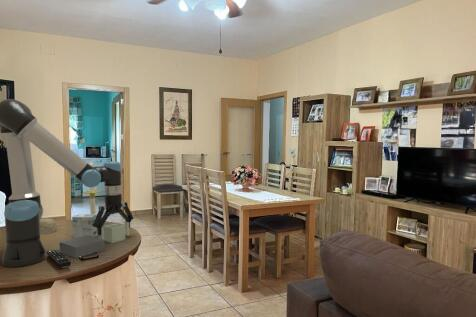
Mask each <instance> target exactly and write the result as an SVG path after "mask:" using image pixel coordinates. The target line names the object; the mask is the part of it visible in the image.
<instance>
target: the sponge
mask: <svg viewBox="0 0 476 317" xmlns="http://www.w3.org/2000/svg"><path fill="white" fill-rule="evenodd" d="M57 230H58V229H57V222H56V220H54V219H52V218H47V217H46V218H43V217H41V219H40V235H47V234H52V233H56V232H57Z"/></svg>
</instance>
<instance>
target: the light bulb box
mask: <svg viewBox="0 0 476 317" xmlns="http://www.w3.org/2000/svg"><path fill="white" fill-rule="evenodd" d="M97 214H98V213H96V214H91V213H78V214H76V215H74V216H73V215H72V216H71V219H72V220H71V222H72V239H74V238H78V237H82V236H86V235H89V236H93V237H96V238H97V237H99V235H98V234H97V228H96V227H93V224H94V221H95V219H96V216H97Z"/></svg>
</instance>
